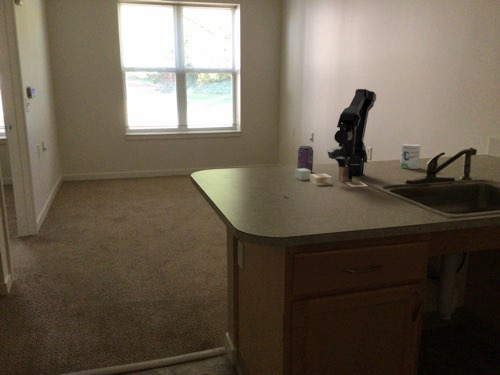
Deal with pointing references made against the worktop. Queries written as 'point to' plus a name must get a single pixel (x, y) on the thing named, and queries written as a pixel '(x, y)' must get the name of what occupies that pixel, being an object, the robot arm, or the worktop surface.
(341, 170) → the walnut block
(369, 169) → the worktop surface
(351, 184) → the swatch
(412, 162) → the ink box
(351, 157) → the robot arm
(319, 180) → the beech base
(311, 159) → the beverage can
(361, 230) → the worktop surface
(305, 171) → the sage block
